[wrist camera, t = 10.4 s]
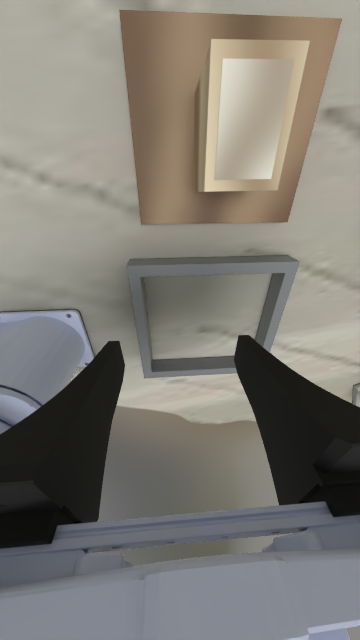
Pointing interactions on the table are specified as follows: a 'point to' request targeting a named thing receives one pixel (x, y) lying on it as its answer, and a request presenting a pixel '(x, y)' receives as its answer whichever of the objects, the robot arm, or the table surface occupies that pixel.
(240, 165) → the maple block
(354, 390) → the handheld gaming console
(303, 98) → the walnut board
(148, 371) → the grey bin
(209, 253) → the table surface
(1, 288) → the table surface
